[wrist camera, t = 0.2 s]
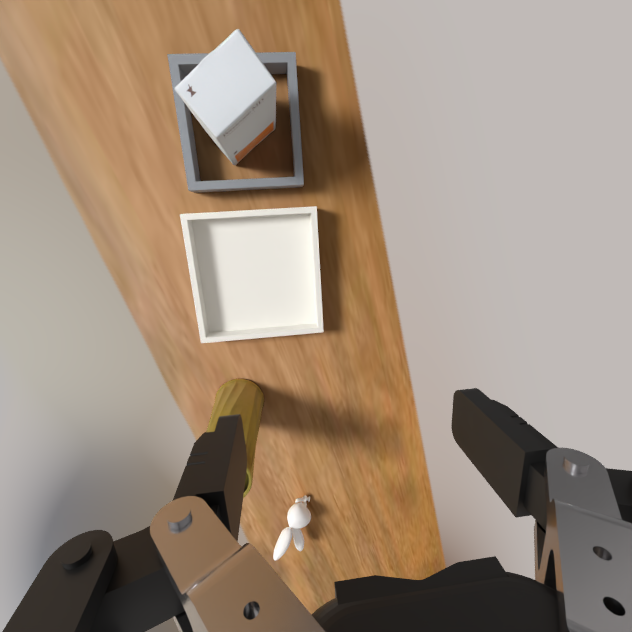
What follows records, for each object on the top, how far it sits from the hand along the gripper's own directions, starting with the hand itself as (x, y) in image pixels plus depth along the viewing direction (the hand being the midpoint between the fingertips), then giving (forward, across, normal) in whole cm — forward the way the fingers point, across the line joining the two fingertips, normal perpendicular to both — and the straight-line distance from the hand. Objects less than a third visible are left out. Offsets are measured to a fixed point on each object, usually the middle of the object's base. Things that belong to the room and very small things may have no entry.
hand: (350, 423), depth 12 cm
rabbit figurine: (+28, +4, +34) cm, 44 cm away
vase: (+28, +9, +14) cm, 33 cm away
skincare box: (+29, +5, -16) cm, 34 cm away
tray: (+28, +5, -2) cm, 29 cm away
